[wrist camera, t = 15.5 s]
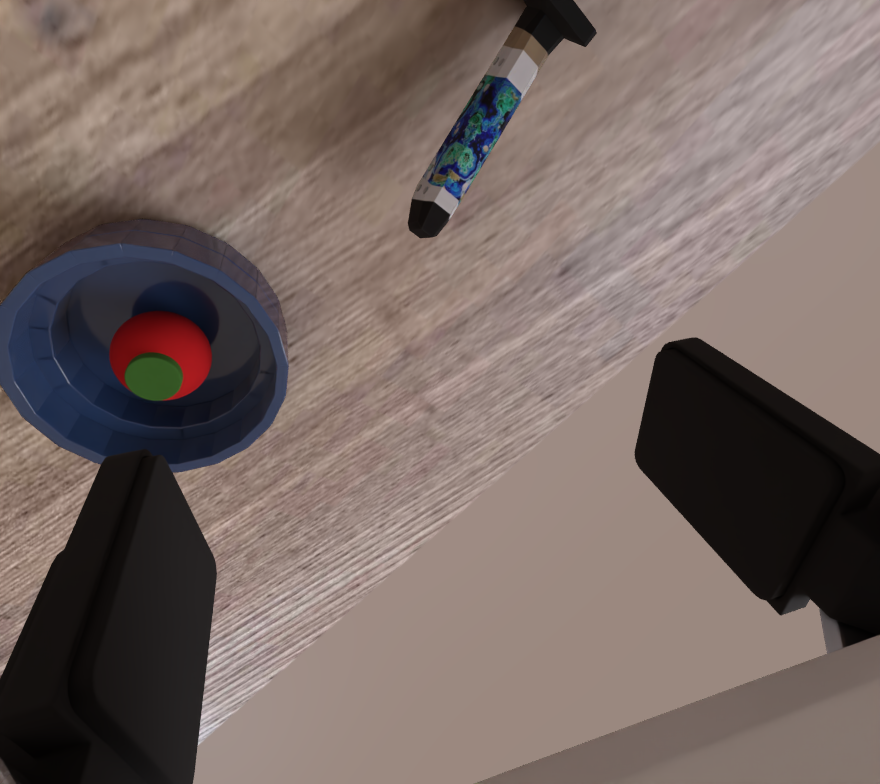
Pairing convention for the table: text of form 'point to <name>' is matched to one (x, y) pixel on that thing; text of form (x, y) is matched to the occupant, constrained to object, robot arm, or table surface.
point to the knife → (493, 109)
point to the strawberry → (160, 355)
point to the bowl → (109, 306)
